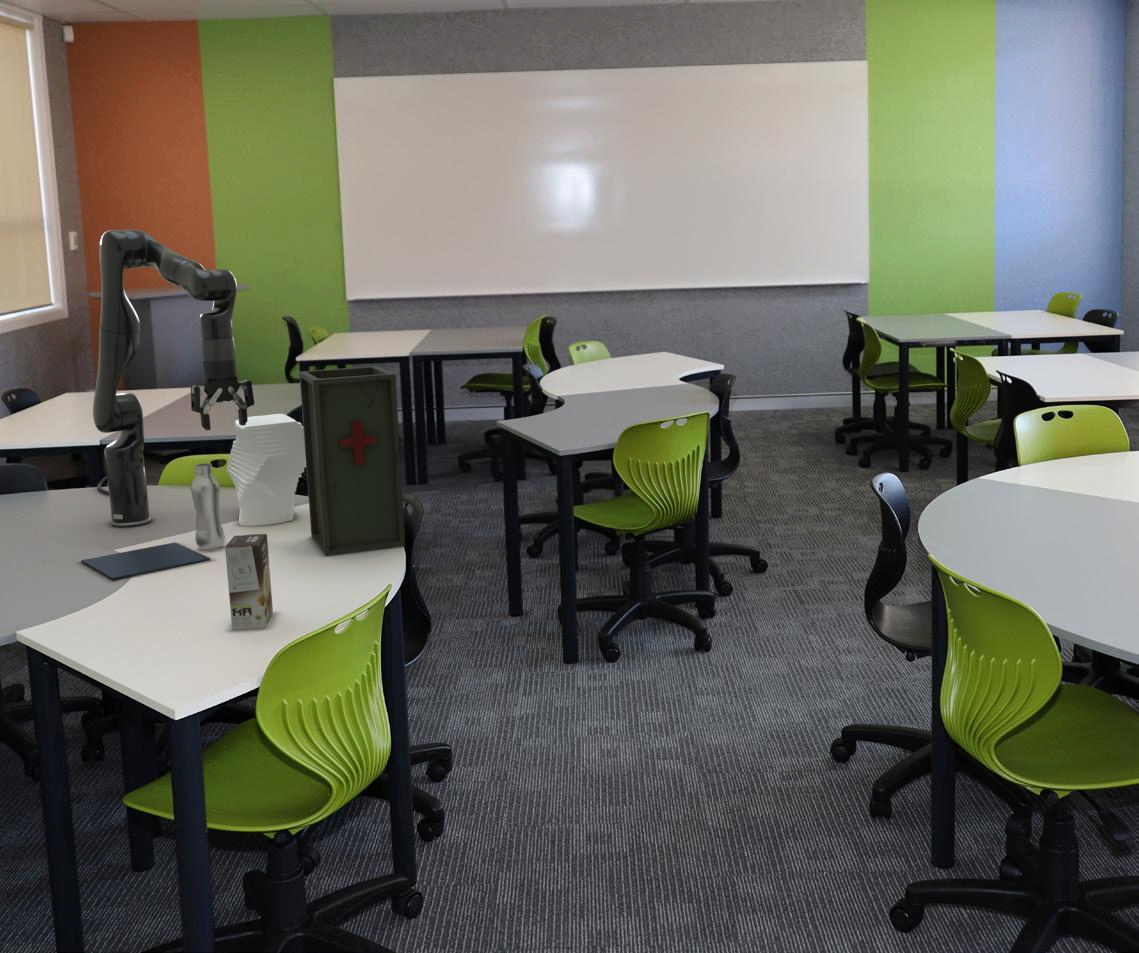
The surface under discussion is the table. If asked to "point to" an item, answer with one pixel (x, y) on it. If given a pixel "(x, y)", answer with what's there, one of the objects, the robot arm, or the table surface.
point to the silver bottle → (207, 508)
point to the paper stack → (267, 468)
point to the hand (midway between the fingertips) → (225, 427)
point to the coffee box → (249, 581)
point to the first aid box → (352, 459)
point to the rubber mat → (144, 561)
